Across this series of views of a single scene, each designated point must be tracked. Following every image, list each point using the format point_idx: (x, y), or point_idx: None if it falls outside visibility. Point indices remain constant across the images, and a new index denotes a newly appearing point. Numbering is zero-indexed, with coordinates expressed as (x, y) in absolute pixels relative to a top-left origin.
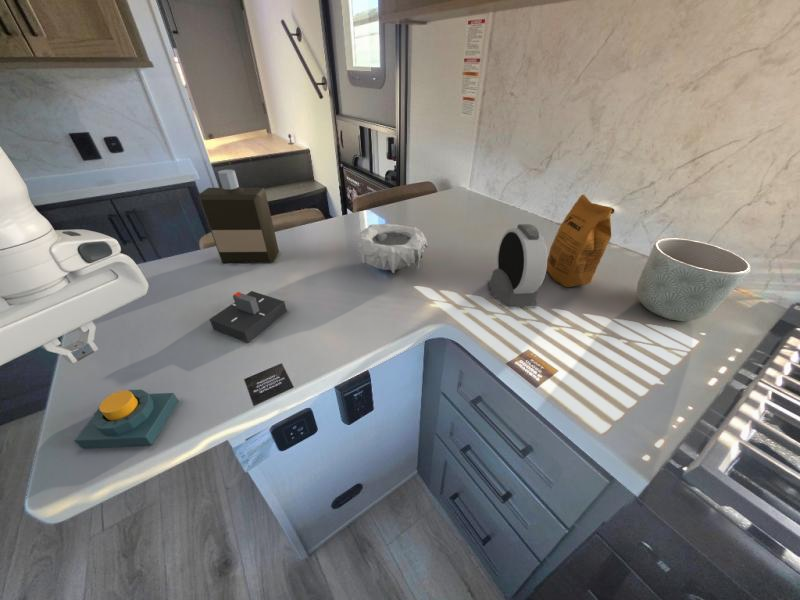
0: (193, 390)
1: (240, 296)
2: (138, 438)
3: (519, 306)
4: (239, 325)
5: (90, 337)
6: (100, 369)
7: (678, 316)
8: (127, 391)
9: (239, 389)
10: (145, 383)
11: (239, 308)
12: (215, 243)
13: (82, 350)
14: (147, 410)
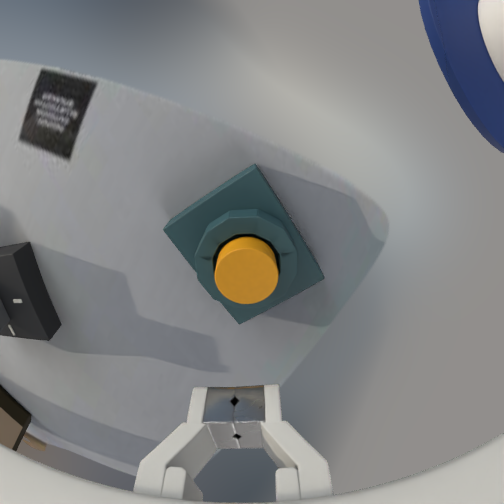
0: (139, 220)
1: None
2: (264, 179)
3: None
4: (14, 279)
5: (182, 437)
6: None
7: None
8: (218, 283)
9: (87, 143)
10: (188, 313)
11: (5, 315)
12: (20, 438)
13: (232, 409)
14: (218, 220)
